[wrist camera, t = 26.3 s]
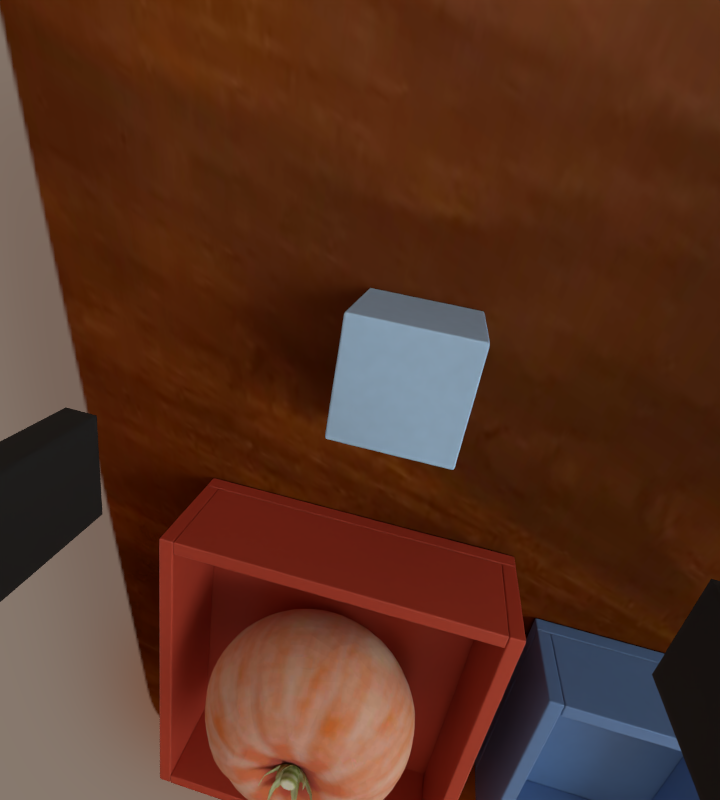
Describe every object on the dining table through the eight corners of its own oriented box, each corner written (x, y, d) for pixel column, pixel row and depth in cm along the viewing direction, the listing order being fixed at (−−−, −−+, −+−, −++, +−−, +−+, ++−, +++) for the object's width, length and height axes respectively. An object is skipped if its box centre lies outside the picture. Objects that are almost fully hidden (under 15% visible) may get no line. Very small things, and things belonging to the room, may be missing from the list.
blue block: (351, 392, 23) (324, 439, 19) (369, 287, 21) (344, 311, 17) (455, 416, 23) (453, 471, 18) (484, 311, 21) (490, 343, 16)
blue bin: (474, 757, 31) (476, 848, 27) (535, 617, 26) (549, 701, 22) (643, 810, 30) (674, 914, 25) (740, 673, 25) (800, 775, 20)
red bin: (202, 697, 34) (159, 778, 29) (213, 477, 27) (158, 538, 22) (433, 770, 32) (428, 870, 27) (514, 556, 25) (526, 642, 20)
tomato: (266, 545, 27) (192, 674, 19) (451, 622, 26) (446, 784, 19) (226, 668, 31) (154, 810, 24) (383, 736, 31) (358, 902, 23)
